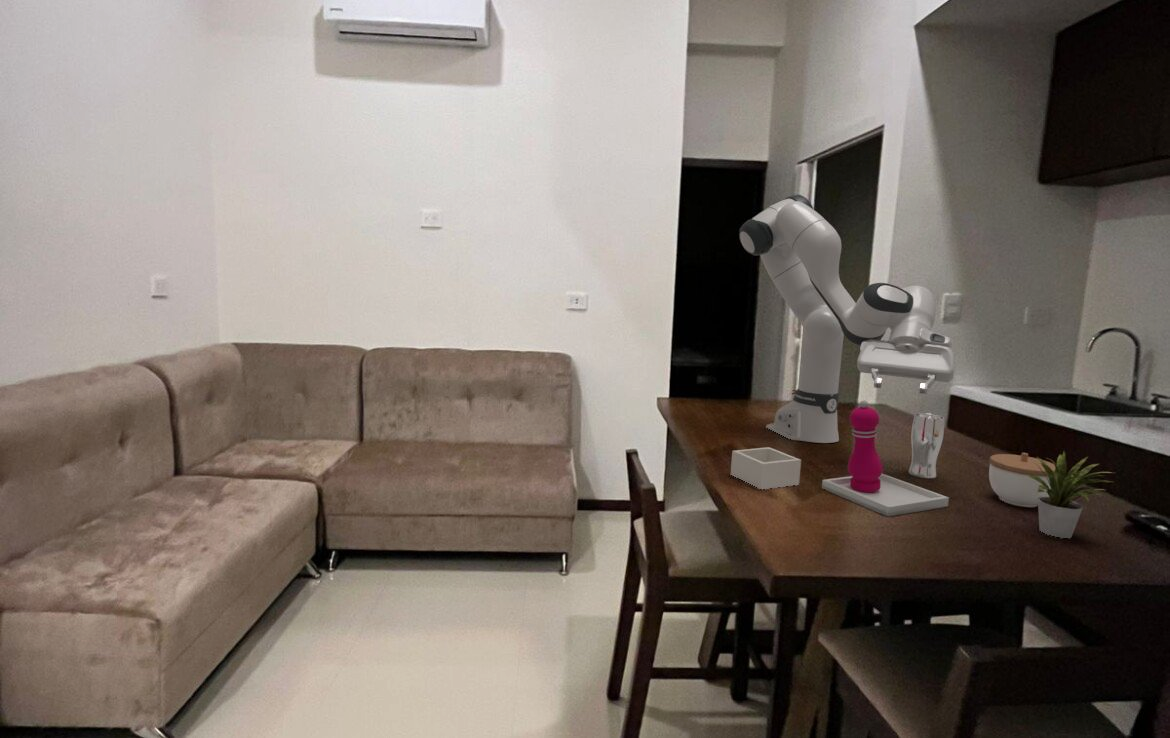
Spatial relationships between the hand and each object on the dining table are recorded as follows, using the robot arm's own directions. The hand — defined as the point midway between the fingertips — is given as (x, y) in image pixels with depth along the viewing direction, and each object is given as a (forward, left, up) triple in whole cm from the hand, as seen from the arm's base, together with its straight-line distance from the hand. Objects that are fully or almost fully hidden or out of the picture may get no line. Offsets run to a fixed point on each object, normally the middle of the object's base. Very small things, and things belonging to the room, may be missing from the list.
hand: (899, 389), depth 147 cm
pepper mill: (+1, -9, -22) cm, 24 cm away
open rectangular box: (-13, -25, -23) cm, 37 cm away
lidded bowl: (+17, +21, -23) cm, 35 cm away
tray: (+5, -7, -23) cm, 25 cm away
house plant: (+32, +8, -23) cm, 40 cm away
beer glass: (-4, +17, -23) cm, 29 cm away
